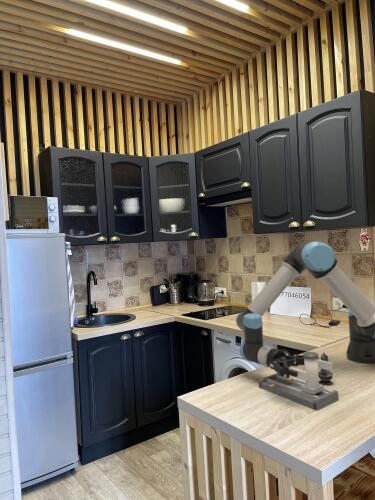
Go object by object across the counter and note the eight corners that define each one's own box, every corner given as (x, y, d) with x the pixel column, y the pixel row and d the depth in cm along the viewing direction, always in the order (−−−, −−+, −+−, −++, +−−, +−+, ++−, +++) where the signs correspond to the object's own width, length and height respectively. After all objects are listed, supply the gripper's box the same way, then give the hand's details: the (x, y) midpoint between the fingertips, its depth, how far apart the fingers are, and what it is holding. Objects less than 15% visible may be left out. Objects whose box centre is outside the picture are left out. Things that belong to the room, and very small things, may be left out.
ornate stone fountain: (329, 379, 143) (328, 349, 143) (336, 385, 137) (334, 353, 137) (315, 380, 143) (313, 350, 143) (321, 386, 137) (319, 354, 137)
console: (280, 379, 146) (279, 372, 146) (338, 399, 124) (338, 391, 124) (258, 387, 139) (258, 379, 139) (316, 410, 118) (316, 401, 118)
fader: (311, 385, 130) (309, 350, 130) (324, 390, 125) (322, 353, 125) (300, 390, 126) (298, 354, 126) (313, 394, 122) (311, 357, 122)
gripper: (293, 360, 148) (341, 373, 130) (249, 375, 134) (295, 392, 116) (292, 342, 148) (340, 353, 130) (248, 355, 134) (294, 369, 116)
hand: (319, 371), depth 123 cm, fingers open, 13 cm apart
